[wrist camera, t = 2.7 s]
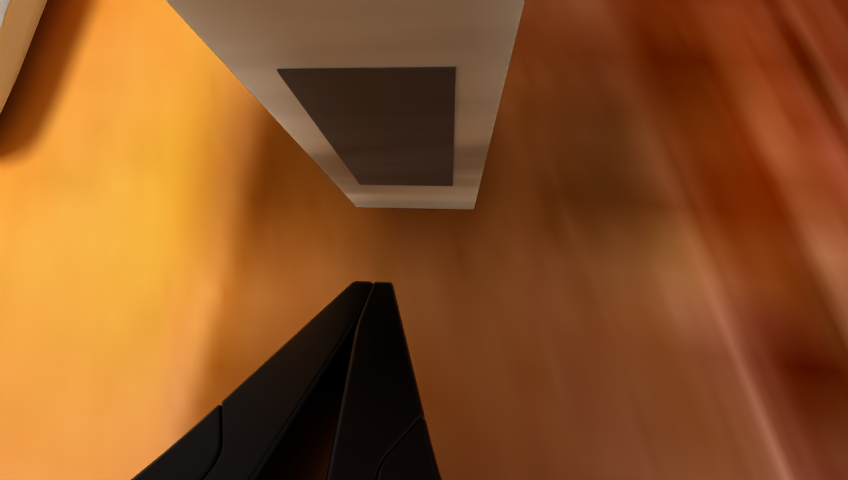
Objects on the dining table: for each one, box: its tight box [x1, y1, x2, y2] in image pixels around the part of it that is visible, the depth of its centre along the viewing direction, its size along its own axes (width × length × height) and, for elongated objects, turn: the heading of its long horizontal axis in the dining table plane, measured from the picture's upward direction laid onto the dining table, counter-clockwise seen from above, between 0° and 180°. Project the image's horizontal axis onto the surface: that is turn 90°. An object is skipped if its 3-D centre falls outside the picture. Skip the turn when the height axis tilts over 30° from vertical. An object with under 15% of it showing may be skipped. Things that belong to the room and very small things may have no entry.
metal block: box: [166, 0, 525, 209], centre depth 10 cm, size 5×5×12 cm
